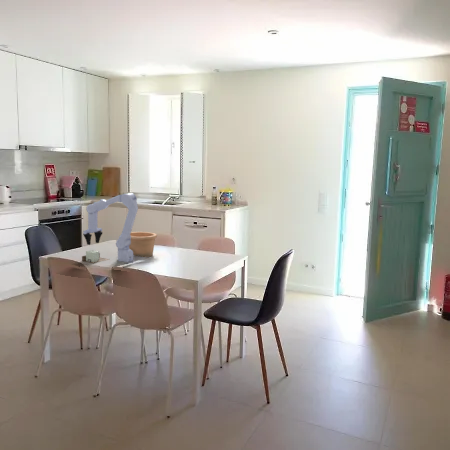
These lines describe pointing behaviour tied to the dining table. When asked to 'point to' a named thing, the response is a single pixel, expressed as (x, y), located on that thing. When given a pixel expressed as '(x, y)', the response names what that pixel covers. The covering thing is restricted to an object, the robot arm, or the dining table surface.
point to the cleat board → (93, 262)
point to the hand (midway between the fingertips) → (93, 243)
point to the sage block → (92, 256)
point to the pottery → (142, 243)
